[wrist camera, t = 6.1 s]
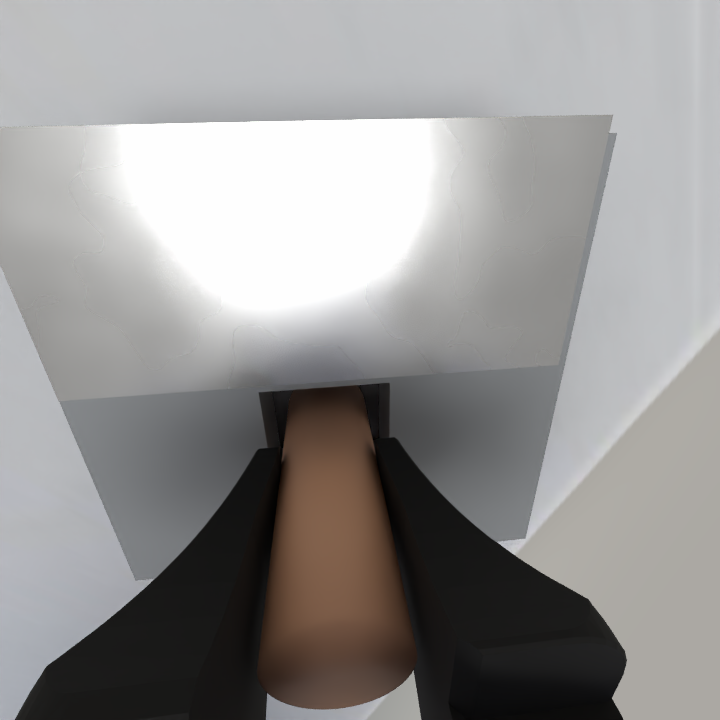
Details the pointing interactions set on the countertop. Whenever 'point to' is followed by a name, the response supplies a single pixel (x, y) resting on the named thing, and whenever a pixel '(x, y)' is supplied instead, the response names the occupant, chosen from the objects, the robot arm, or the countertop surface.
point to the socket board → (259, 430)
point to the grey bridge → (294, 248)
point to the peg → (332, 564)
